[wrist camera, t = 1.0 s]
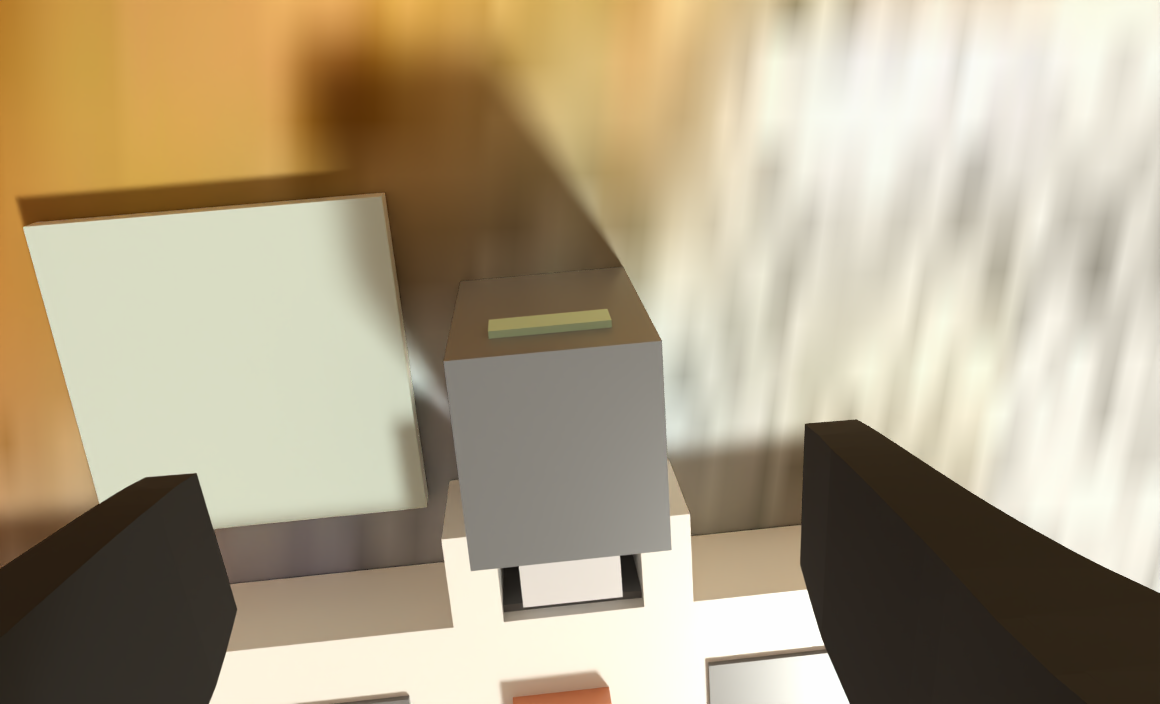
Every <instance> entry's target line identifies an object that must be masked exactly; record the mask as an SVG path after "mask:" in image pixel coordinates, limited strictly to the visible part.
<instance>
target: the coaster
mask: <svg viewBox="0 0 1160 704" xmlns="http://www.w3.org/2000/svg"><path fill="white" fill-rule="evenodd" d="M23 229H24V233H25V236H26V240H27V243H28V247H29V251H30V254H31V258H32V262H33V265H34V269H35V272H36V276H37V280H38V283H39V287H40V290H41V294H42V298H43V301H44V305H45V308H46V312H47V316H48V319H49V323H50V327H51V330H52V334H53V337H54V341H55V345H56V348H57V352H58V355H59V359H60V363H61V366H62V370H63V374H64V377H65V381H66V384H67V388H68V392H69V395H70V399H71V402H72V406H73V410H74V413H75V417H76V421H77V424H78V428H79V431H80V435H81V439H82V442H83V446H84V449H85V453H86V457H87V460H88V464H89V468H90V471H91V475H92V478H93V482H94V486H95V489H96V493H97V496H98V500H99V504H100V503H101V502H103V501H104V500H106V499H108V498H109V497H111V496H112V495H114V494H116V493H117V492H119V491H121V490H122V489H124V488H126V487H128V486H129V485H131V484H133V483H135V482H137V481H139V480H141V479H143V478H145V477H153V476H166V475H178V474H190V473H197V476H198V479H199V483H200V486H201V489H202V493H203V496H204V499H205V503H206V506H207V509H208V513H209V516H210V519H211V523H212V526H213V529H220V528H230V527H240V526H249V525H259V524H269V523H279V522H289V521H299V520H309V519H319V518H329V517H338V516H348V515H358V514H368V513H378V512H388V511H398V510H408V509H418V508H427V502H428V497H429V496H428V489H427V482H426V475H425V468H424V461H423V454H422V447H421V440H420V434H419V427H418V420H417V413H416V406H415V399H414V392H413V385H412V378H411V371H410V364H409V357H408V350H407V343H406V336H405V329H404V322H403V315H402V308H401V301H400V294H399V287H398V280H397V273H396V267H395V260H394V253H393V246H392V239H391V232H390V225H389V218H388V211H387V204H386V197H385V192H384V193H372V194H361V195H349V196H337V197H325V198H314V199H302V200H290V201H278V202H267V203H255V204H243V205H231V206H220V207H208V208H196V209H184V210H173V211H161V212H149V213H137V214H126V215H114V216H102V217H90V218H79V219H67V220H55V221H43V222H35V223H32V224H30V225H27V226H24V227H23Z"/></svg>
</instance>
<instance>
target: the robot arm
mask: <svg viewBox="0 0 1160 704" xmlns="http://www.w3.org/2000/svg"><path fill="white" fill-rule="evenodd" d="M800 566H801V570H802V573H803V577H804V581H805V584H806V588H807V591H808V595H809V599H810V602H811V606H812V609H813V612H814V616H815V619H816V622H817V626H818V629H819V632H820V635H821V639H822V641H823V643H824V646H825V648H826V650H827V653H828V655H829V658H830V660H831V662H832V665H833V667H834V669H835V671H836V674H837V676H838V678H839V681H840V683H841V685H842V688H843V690H844V692H845V695H846V697H847V699H848V701H849V704H1160V593H1158V592H1156V591H1154V590H1152V589H1150V588H1148V587H1145V586H1143V585H1141V584H1139V583H1137V582H1135V581H1133V580H1130V579H1128V578H1126V577H1124V576H1122V575H1120V574H1118V573H1115V572H1113V571H1111V570H1109V569H1107V568H1105V567H1103V566H1101V565H1099V564H1097V563H1095V562H1093V561H1091V560H1089V559H1087V558H1085V557H1083V556H1081V555H1079V554H1077V553H1075V552H1073V551H1072V550H1070V549H1068V548H1066V547H1064V546H1063V545H1061V544H1059V543H1057V542H1055V541H1054V540H1052V539H1050V538H1048V537H1046V536H1044V535H1043V534H1041V533H1039V532H1037V531H1035V530H1034V529H1032V528H1030V527H1028V526H1026V525H1025V524H1023V523H1021V522H1019V521H1018V520H1016V519H1014V518H1013V517H1011V516H1009V515H1007V514H1006V513H1004V512H1002V511H1001V510H999V509H997V508H996V507H994V506H992V505H991V504H989V503H987V502H986V501H984V500H983V499H981V498H979V497H978V496H976V495H974V494H973V493H971V492H970V491H968V490H966V489H965V488H963V487H962V486H960V485H959V484H957V483H955V482H954V481H952V480H951V479H949V478H948V477H946V476H945V475H943V474H941V473H940V472H938V471H937V470H935V469H934V468H932V467H931V466H929V465H928V464H926V463H925V462H923V461H922V460H920V459H919V458H917V457H915V456H914V455H912V454H911V453H909V452H908V451H906V450H905V449H903V448H902V447H900V446H899V445H897V444H896V443H894V442H893V441H891V440H890V439H888V438H887V437H885V436H883V435H882V434H880V433H879V432H877V431H876V430H874V429H872V428H871V427H869V426H867V425H866V424H864V423H862V422H860V421H858V420H845V421H833V422H821V423H808V424H805V437H804V465H803V493H802V520H801V548H800ZM236 613H237V606H236V603H235V600H234V596H233V593H232V590H231V586H230V583H229V580H228V576H227V573H226V570H225V566H224V563H223V560H222V556H221V553H220V549H219V546H218V543H217V539H216V536H215V533H214V529H213V526H212V523H211V519H210V516H209V513H208V509H207V506H206V503H205V499H204V496H203V493H202V489H201V486H200V483H199V479H198V476H197V473H190V474H178V475H166V476H153V477H145V478H143V479H141V480H139V481H137V482H135V483H133V484H131V485H129V486H128V487H126V488H124V489H122V490H121V491H119V492H117V493H116V494H114V495H112V496H111V497H109V498H108V499H106V500H104V501H103V502H101V503H100V504H98V505H96V506H95V507H93V508H92V509H90V510H89V511H87V512H86V513H84V514H83V515H81V516H80V517H78V518H76V519H75V520H73V521H72V522H70V523H69V524H67V525H66V526H64V527H63V528H61V529H60V530H58V531H57V532H55V533H54V534H52V535H51V536H49V537H48V538H46V539H45V540H43V541H42V542H40V543H39V544H37V545H36V546H34V547H33V548H31V549H30V550H28V551H27V552H25V553H24V554H22V555H20V556H19V557H17V558H16V559H14V560H13V561H11V562H10V563H8V564H7V565H5V566H4V567H2V568H1V569H0V704H209V702H210V700H211V698H212V695H213V693H214V690H215V688H216V685H217V682H218V678H219V675H220V672H221V668H222V665H223V662H224V658H225V655H226V651H227V648H228V644H229V640H230V636H231V632H232V629H233V625H234V621H235V617H236Z"/></svg>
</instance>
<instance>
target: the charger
mask: <svg viewBox="0 0 1160 704" xmlns="http://www.w3.org/2000/svg"><path fill="white" fill-rule="evenodd" d="M443 363H444V370H445V378H446V386H447V393H448V401H449V409H450V416H451V424H452V432H453V439H454V447H455V455H456V462H457V470H458V478H459V485H460V493H461V500H462V508H463V516H464V523H465V531H466V539H467V546H468V554H469V562H470V569H471V571H478V570H488V569H497V568H507V567H516V566H519V572H520V581H521V590H522V599H523V608H524V607H534V606H543V605H552V604H562V603H571V602H580V601H590V600H599V599H608V598H618V597H623V593H622V578H621V564H620V556H621V555H631V554H640V553H650V552H659V551H669V550H672V547H671V526H670V504H669V483H668V462H667V441H666V420H665V399H664V377H663V356H662V340H661V338H660V336H659V335H658V333H657V331H656V329H655V327H654V325H653V323H652V321H651V319H650V317H649V315H648V313H647V312H646V310H645V308H644V306H643V304H642V302H641V300H640V298H639V296H638V294H637V292H636V290H635V289H634V287H633V285H632V283H631V281H630V279H629V277H628V275H627V273H626V271H625V269H624V267H613V268H602V269H590V270H579V271H568V272H557V273H546V274H535V275H524V276H513V277H501V278H490V279H479V280H468V281H460V285H459V290H458V295H457V299H456V304H455V309H454V314H453V318H452V323H451V328H450V332H449V337H448V342H447V346H446V351H445V356H444V360H443Z"/></svg>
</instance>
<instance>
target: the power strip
mask: <svg viewBox="0 0 1160 704" xmlns="http://www.w3.org/2000/svg"><path fill="white" fill-rule="evenodd" d="M667 462H668V483H669V504H670V526H671V547H672V550H669V551H659V552H650V553H640V554H631V555H621V556H620V564H621V578H622V593H623V597H618V598H608V599H599V600H590V601H580V602H571V603H562V604H552V605H543V606H534V607H524V608H523V599H522V590H521V581H520V572H519V566H516V567H507V568H497V569H488V570H478V571H471V569H470V562H469V554H468V546H467V539H466V531H465V523H464V516H463V508H462V500H461V493H460V485H459V480H452V481H449V488H448V495H447V502H446V510H445V517H444V524H443V531H442V538H441V541H442V548H443V555H444V562H439V563H429V564H420V565H410V566H400V567H391V568H381V569H372V570H362V571H352V572H343V573H333V574H324V575H314V576H304V577H295V578H285V579H275V580H266V581H256V582H247V583H237V584H230V586H231V590H232V593H233V596H234V600H235V603H236V606H237V613H236V617H235V621H234V625H233V629H232V632H231V636H230V640H229V644H228V648H227V651H226V655H225V658H224V662H223V665H222V668H221V672H220V675H219V678H218V682H217V685H216V688H215V690H214V693H213V695H212V698H211V700H210V702H209V704H849V701H848V699H847V697H846V695H845V692H844V690H843V688H842V685H841V683H840V681H839V678H838V676H837V674H836V671H835V669H834V667H833V665H832V662H831V660H830V658H829V655H828V653H827V650H826V648H825V646H824V643H823V641H822V639H821V635H820V632H819V629H818V626H817V622H816V619H815V616H814V612H813V609H812V606H811V602H810V599H809V595H808V591H807V588H806V584H805V581H804V577H803V573H802V570H801V566H800V548H801V525H795V526H785V527H776V528H766V529H756V530H747V531H737V532H727V533H718V534H708V535H699V536H691V526H690V513H689V510H688V507H687V505H686V502H685V500H684V497H683V495H682V492H681V489H680V487H679V484H678V482H677V479H676V476H675V474H674V471H673V469H672V466H671V463H670V461H669V459H667Z"/></svg>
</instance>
